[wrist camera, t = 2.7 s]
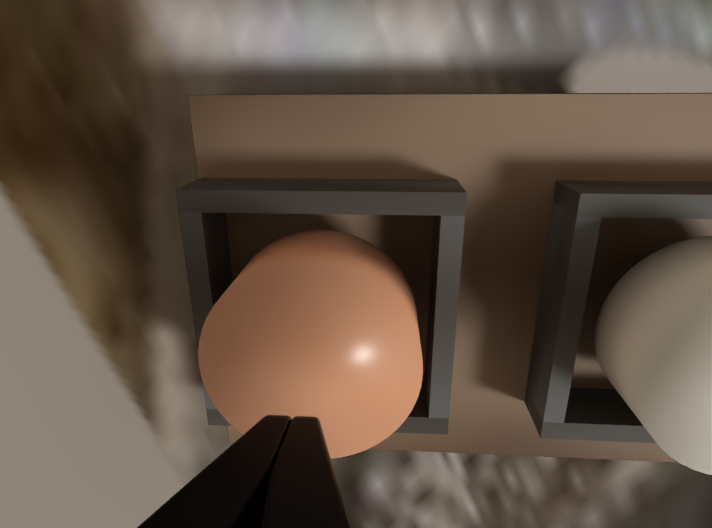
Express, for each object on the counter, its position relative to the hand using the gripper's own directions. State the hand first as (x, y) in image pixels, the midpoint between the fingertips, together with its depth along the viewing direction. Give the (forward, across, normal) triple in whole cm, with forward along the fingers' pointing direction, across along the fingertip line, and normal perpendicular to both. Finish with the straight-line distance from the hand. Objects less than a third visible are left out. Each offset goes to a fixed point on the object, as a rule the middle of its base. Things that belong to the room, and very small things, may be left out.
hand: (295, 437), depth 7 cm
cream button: (+4, -8, 0) cm, 9 cm away
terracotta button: (+4, 0, 0) cm, 4 cm away
